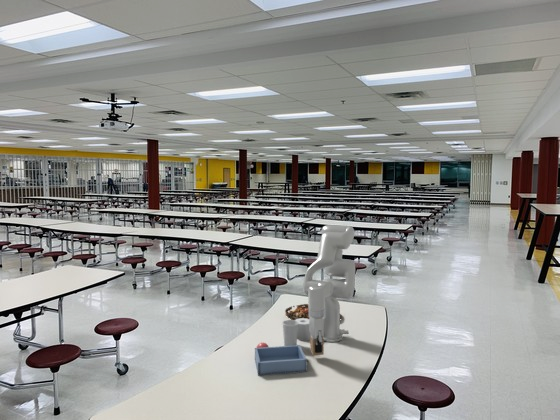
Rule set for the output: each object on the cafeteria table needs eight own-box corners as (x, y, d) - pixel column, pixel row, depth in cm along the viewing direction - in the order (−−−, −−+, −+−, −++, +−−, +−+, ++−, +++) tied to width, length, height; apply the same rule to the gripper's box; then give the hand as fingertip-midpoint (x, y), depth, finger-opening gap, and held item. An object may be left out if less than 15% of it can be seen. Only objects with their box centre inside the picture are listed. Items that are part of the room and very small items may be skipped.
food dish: (278, 325, 228) (278, 311, 228) (293, 308, 260) (292, 297, 260) (338, 329, 218) (337, 315, 218) (345, 312, 250) (345, 300, 249)
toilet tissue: (318, 341, 201) (318, 325, 201) (293, 339, 204) (293, 323, 203) (319, 334, 210) (319, 319, 210) (295, 333, 213) (295, 317, 212)
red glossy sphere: (268, 352, 189) (268, 340, 188) (269, 357, 183) (269, 345, 182) (255, 353, 188) (255, 340, 187) (257, 358, 182) (257, 346, 182)
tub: (299, 356, 184) (299, 345, 184) (306, 371, 169) (306, 359, 169) (254, 359, 181) (254, 348, 181) (258, 375, 166) (258, 363, 166)
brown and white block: (320, 349, 185) (320, 330, 184) (323, 354, 180) (323, 335, 179) (310, 350, 184) (310, 331, 183) (313, 355, 179) (312, 336, 178)
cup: (296, 349, 191) (297, 326, 191) (281, 348, 193) (281, 324, 192) (299, 343, 199) (299, 320, 198) (284, 342, 201) (284, 319, 200)
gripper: (304, 306, 187) (305, 342, 190) (313, 320, 171) (313, 359, 173) (319, 304, 189) (320, 340, 191) (329, 318, 172) (329, 357, 174)
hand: (316, 349), depth 182 cm, fingers closed on brown and white block, 5 cm apart
